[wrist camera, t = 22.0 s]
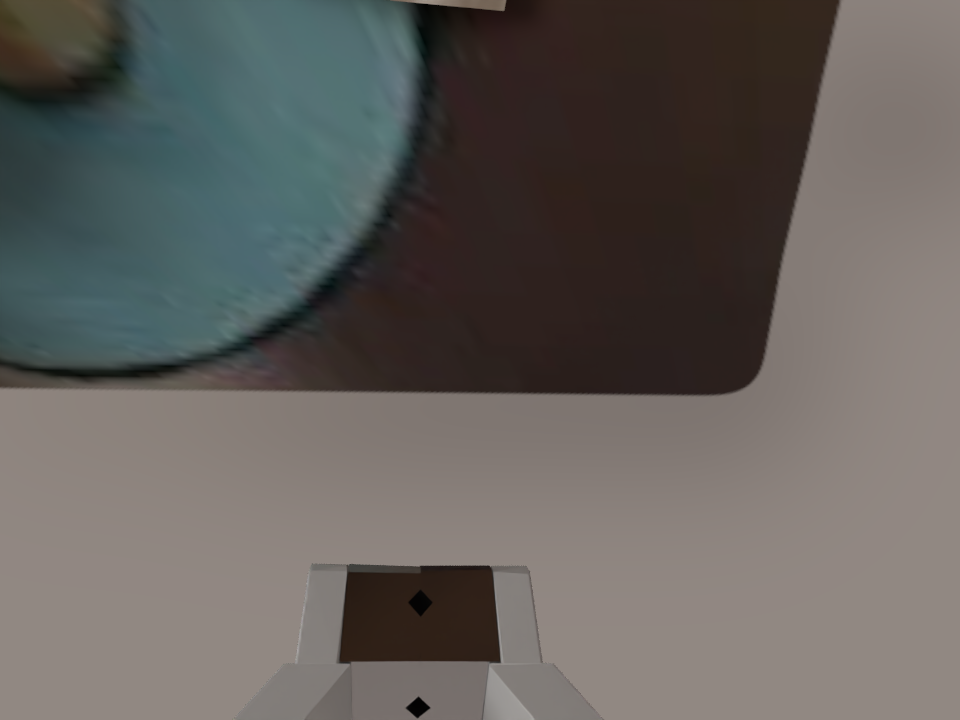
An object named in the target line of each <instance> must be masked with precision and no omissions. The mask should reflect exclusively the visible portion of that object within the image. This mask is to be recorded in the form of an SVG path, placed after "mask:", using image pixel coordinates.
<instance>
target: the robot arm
mask: <svg viewBox="0 0 960 720" xmlns="http://www.w3.org/2000/svg"><path fill="white" fill-rule="evenodd" d="M233 720H603V718H602V717H601V716H600V715H599V714H598V713H597V712H596V711H595V709H594V708H593V707H592V706H591V705H590V704H589V703H588V702H587V701H586V699H585V698H584V697H583V696H582V695H581V694H580V693H579V692H578V690H577V689H576V688H575V687H574V686H573V685H572V684H571V683H570V681H569V680H568V679H567V678H566V677H565V676H564V675H563V674H562V673H561V671H560V670H559V669H558V668H557V667H556V666H555V665H554V664H551V663H543V661H542V655H541V647H540V640H539V634H538V626H537V619H536V612H535V605H534V598H533V591H532V584H531V577H530V571H529V570H528V568H527V566H491V567H490V566H420V567H416V566H415V567H414V566H386V565H356V564H350V565H335V564H312V565H311V568H310V570H309V573H308V578H307V585H306V592H305V599H304V606H303V613H302V620H301V626H300V633H299V640H298V648H297V654H296V660H295V663H294V664H283V665H282V666H281V668H280V669H279V670H278V671H277V672H276V673H275V674H274V675H273V676H272V677H271V679H270V680H269V681H268V682H267V683H266V684H265V685H264V686H263V687H262V688H261V690H260V691H259V692H258V693H257V694H256V695H255V696H254V697H253V698H252V699H251V700H250V701H249V702H248V704H247V705H246V706H245V707H244V708H243V709H242V710H241V711H240V712H239V713H238V715H237V716H236V717H235V718H234V719H233Z"/></svg>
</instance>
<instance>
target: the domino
mask: <svg viewBox="0 0 960 720" xmlns="http://www.w3.org/2000/svg"><path fill="white" fill-rule="evenodd" d="M392 1H402V2H413V3H424V4H434V5H445V6H456V7H466V8H477V9H487V10H498V11H504V10H505V4H506V0H392Z"/></svg>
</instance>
